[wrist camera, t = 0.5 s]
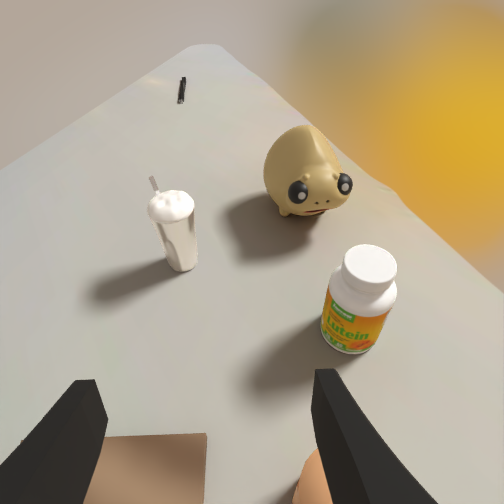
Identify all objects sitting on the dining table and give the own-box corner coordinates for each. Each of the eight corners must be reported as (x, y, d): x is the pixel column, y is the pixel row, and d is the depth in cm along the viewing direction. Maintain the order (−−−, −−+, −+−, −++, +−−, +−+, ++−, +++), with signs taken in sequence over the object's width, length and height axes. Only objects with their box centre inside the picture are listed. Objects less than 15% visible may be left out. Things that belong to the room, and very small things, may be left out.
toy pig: (277, 248, 42) (280, 171, 34) (257, 188, 50) (255, 115, 42) (356, 235, 43) (376, 158, 35) (324, 179, 51) (334, 106, 43)
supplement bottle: (312, 343, 33) (326, 277, 26) (327, 300, 36) (343, 230, 29) (371, 364, 31) (402, 300, 24) (381, 317, 35) (411, 248, 28)
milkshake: (186, 238, 43) (170, 167, 36) (211, 262, 40) (200, 191, 33) (153, 256, 41) (129, 185, 34) (177, 283, 38) (157, 212, 31)
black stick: (183, 104, 70) (182, 99, 69) (178, 105, 70) (177, 100, 69) (186, 81, 78) (185, 76, 77) (182, 81, 78) (181, 76, 77)
